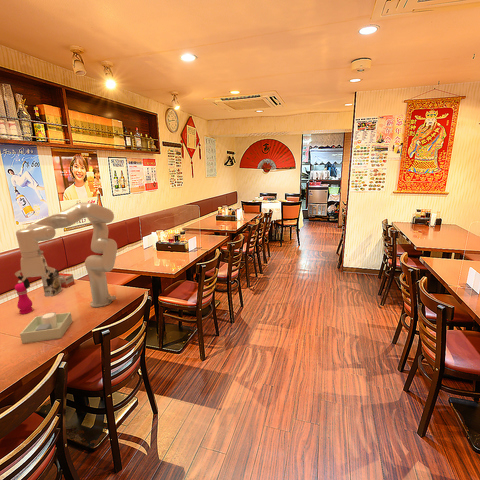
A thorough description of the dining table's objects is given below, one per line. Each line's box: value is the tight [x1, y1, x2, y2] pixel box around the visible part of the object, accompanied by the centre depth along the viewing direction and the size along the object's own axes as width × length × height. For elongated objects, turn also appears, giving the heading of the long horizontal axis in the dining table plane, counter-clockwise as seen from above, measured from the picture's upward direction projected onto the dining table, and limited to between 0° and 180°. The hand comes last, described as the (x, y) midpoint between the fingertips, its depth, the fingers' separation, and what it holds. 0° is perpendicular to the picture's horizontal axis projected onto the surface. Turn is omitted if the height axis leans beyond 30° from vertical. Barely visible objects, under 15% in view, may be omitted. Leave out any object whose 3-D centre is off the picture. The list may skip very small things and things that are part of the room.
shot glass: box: [40, 312, 57, 329], centre depth 151 cm, size 7×7×7 cm
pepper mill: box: [14, 280, 34, 315], centre depth 168 cm, size 7×7×20 cm
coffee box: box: [40, 268, 63, 297], centre depth 194 cm, size 9×6×16 cm
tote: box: [19, 311, 73, 344], centre depth 148 cm, size 17×17×6 cm
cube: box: [36, 324, 52, 331], centre depth 144 cm, size 5×5×5 cm
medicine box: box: [59, 272, 75, 289], centre depth 209 cm, size 15×8×8 cm, turn 77°
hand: (38, 286), depth 141 cm, fingers open, 9 cm apart
